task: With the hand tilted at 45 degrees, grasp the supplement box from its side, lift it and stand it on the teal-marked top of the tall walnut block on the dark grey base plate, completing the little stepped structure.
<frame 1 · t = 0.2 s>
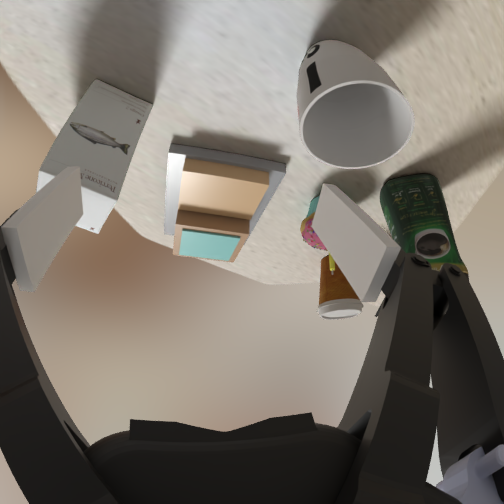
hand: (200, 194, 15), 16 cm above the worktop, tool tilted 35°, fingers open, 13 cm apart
cup: (331, 61, 22), on the worktop
coffee jar: (408, 187, 38), on the worktop
supplement box: (113, 110, 26), on the worktop
disposable coffee cup: (335, 258, 61), on the worktop
cupcake: (326, 202, 42), on the worktop
build base: (214, 199, 42), on the worktop
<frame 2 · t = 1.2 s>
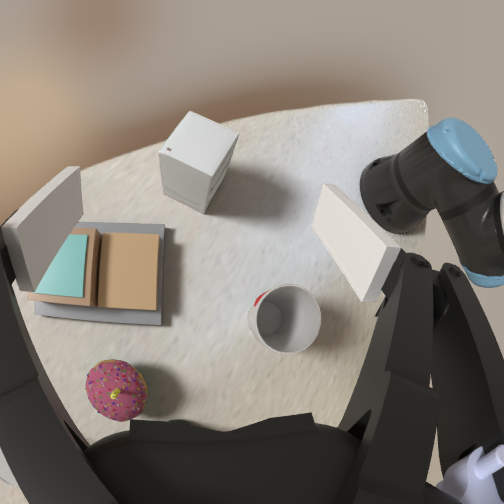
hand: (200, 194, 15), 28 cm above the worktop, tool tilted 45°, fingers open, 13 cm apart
cup: (265, 318, 42), on the worktop
supplement box: (194, 185, 44), on the worktop
disposable coffee cup: (32, 434, 29), on the worktop
cupcake: (123, 383, 36), on the worktop
build base: (96, 272, 38), on the worktop
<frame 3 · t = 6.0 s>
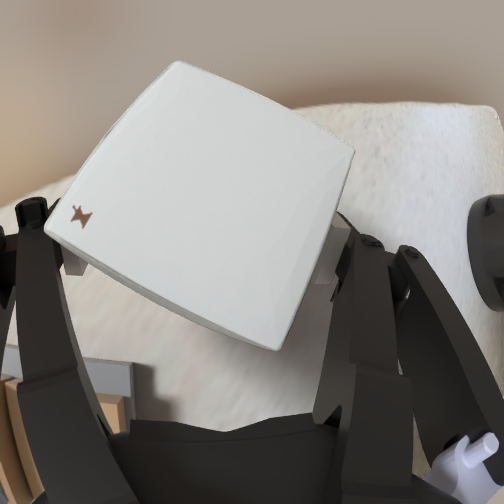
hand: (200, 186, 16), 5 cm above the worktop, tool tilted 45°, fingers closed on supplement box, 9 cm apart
supplement box: (193, 260, 20), on the worktop, touching gripper
build base: (22, 430, 13), on the worktop
when the fingers open (12 cm above the worktop, at t = 13.4 s): supplement box drops 1 cm, resting on build base.
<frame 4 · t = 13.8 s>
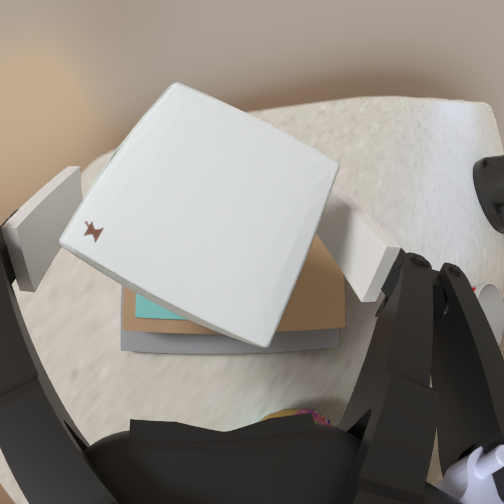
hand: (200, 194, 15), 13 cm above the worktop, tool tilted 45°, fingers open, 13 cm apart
cup: (428, 323, 32), on the worktop
supplement box: (192, 264, 21), point 6 cm above the worktop, touching build base
cupcake: (274, 434, 25), on the worktop
build base: (233, 275, 27), on the worktop
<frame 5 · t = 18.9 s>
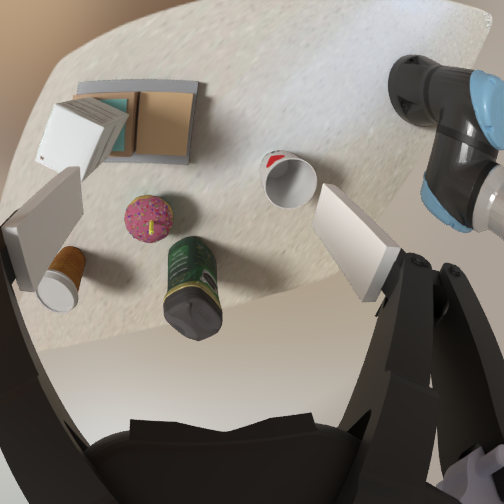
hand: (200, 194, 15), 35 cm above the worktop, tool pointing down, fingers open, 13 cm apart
cup: (274, 164, 50), on the worktop
coffee jar: (192, 256, 58), on the worktop
supplement box: (100, 125, 36), point 6 cm above the worktop, touching build base
disposable coffee cup: (72, 258, 53), on the worktop
cupcake: (152, 208, 51), on the worktop
build base: (133, 120, 41), on the worktop
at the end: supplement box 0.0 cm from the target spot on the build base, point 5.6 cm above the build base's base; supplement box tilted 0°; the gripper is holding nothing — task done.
